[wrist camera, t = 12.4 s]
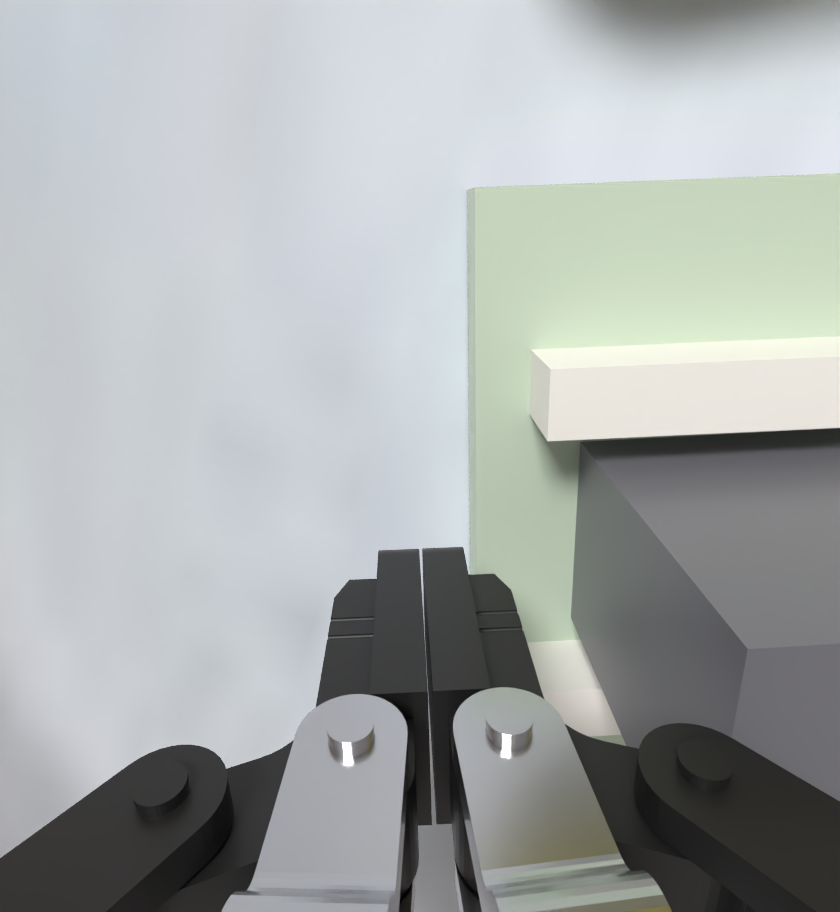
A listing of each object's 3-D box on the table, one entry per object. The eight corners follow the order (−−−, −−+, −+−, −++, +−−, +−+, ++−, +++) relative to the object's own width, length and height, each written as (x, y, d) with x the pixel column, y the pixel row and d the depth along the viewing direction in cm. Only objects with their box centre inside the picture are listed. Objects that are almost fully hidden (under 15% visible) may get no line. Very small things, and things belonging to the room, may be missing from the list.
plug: (571, 617, 13) (709, 940, 7) (580, 441, 12) (765, 670, 6) (847, 601, 13) (1206, 907, 7) (890, 425, 12) (1379, 632, 6)
